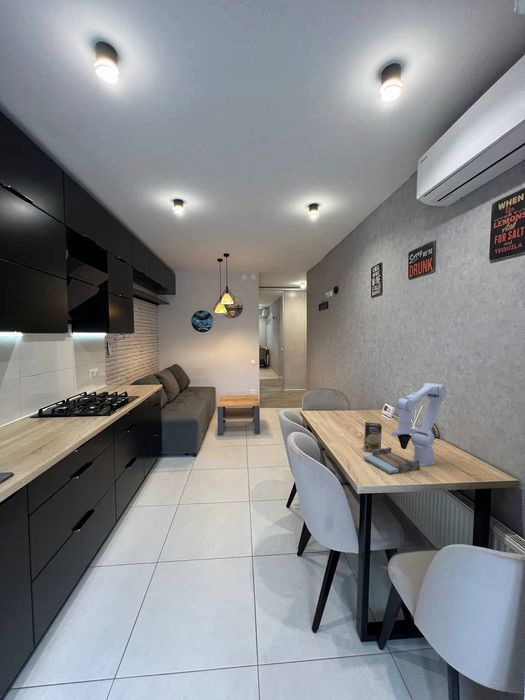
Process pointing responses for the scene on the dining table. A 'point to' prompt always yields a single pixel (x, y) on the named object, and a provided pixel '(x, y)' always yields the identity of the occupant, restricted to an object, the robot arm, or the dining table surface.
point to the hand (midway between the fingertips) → (403, 448)
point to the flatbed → (396, 460)
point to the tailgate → (381, 464)
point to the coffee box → (372, 436)
